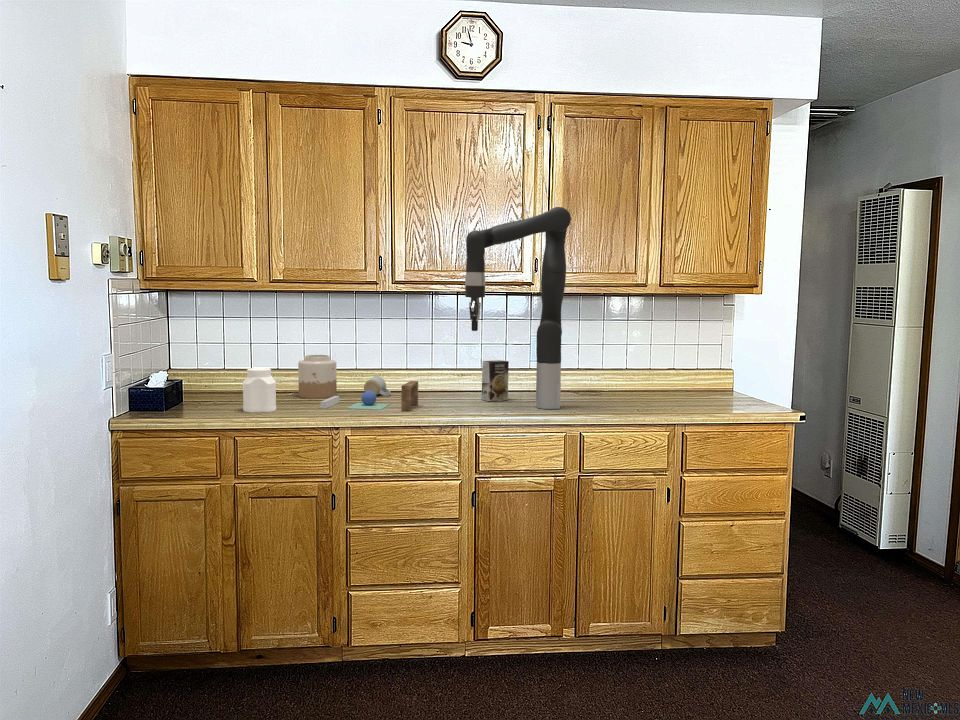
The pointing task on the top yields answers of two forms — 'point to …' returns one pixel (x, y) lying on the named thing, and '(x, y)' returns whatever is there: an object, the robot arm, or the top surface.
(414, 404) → the bridge
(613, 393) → the top surface
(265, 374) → the jar
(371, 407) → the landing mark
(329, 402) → the wall
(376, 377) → the ceramic mug
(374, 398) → the ball
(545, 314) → the robot arm
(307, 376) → the vase
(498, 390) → the coffee box
